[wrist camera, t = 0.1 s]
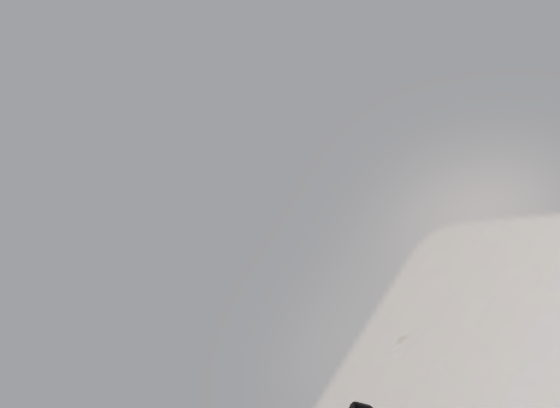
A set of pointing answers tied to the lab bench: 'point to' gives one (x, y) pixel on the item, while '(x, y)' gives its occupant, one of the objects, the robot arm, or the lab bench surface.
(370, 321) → the lab bench surface
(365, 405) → the robot arm
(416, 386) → the lab bench surface
